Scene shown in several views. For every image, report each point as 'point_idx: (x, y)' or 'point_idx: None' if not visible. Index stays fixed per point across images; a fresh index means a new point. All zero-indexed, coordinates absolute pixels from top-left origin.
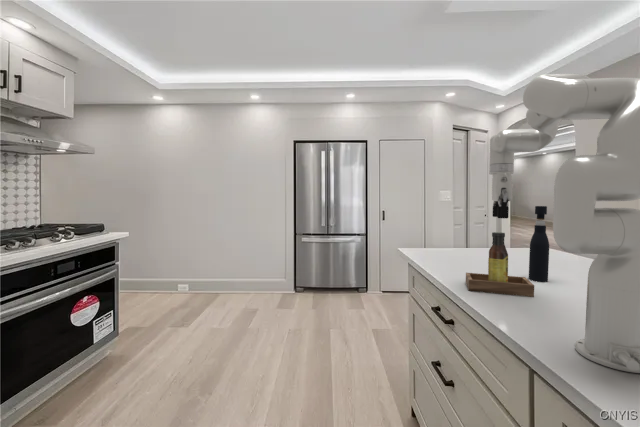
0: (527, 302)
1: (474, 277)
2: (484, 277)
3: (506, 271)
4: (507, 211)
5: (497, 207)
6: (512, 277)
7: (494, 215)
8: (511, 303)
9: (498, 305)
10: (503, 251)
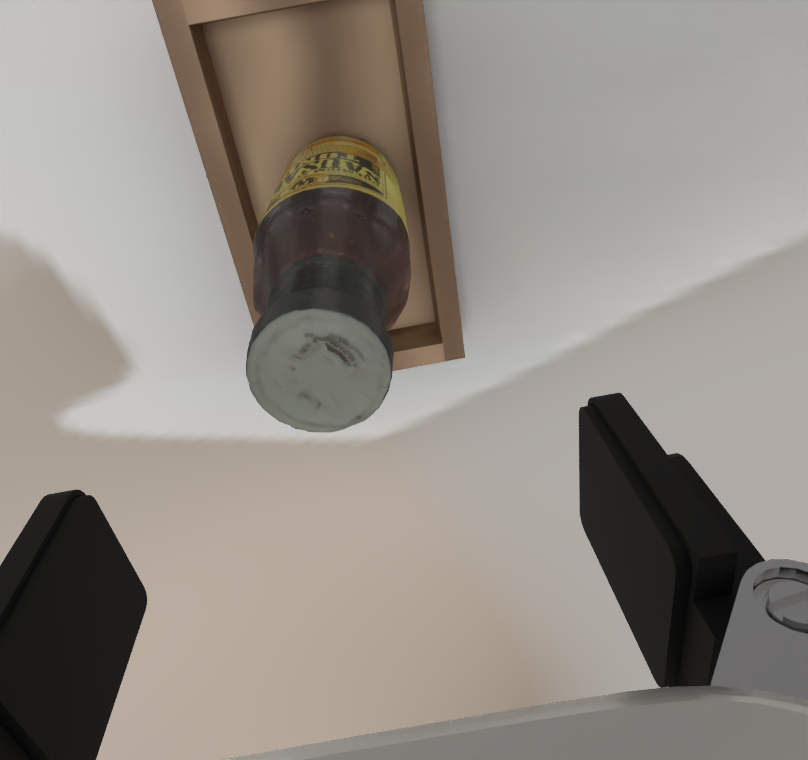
0: (545, 16)
1: None
2: None
3: (374, 165)
4: (673, 484)
5: (52, 726)
6: (212, 102)
7: (133, 599)
8: (599, 111)
9: (656, 178)
10: (381, 239)
